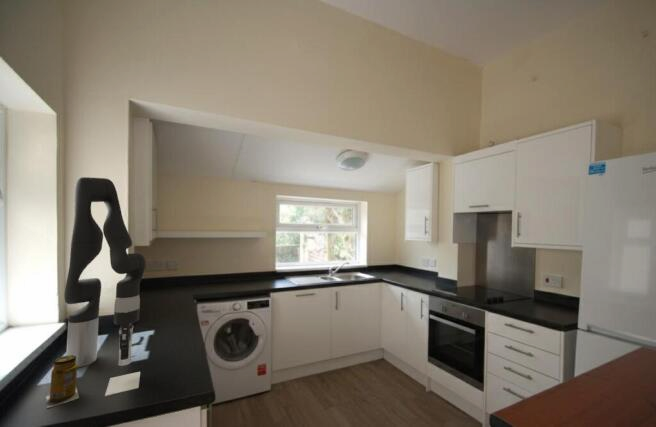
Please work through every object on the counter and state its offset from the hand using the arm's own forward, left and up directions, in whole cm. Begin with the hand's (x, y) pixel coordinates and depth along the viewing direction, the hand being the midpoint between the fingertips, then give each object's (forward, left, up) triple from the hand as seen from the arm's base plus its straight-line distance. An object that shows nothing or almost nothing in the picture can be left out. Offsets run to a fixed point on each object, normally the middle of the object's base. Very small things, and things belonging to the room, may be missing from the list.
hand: (125, 356), depth 100 cm
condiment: (+3, -16, -8) cm, 18 cm away
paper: (+3, 0, -8) cm, 9 cm away
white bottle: (0, 0, -2) cm, 2 cm away
